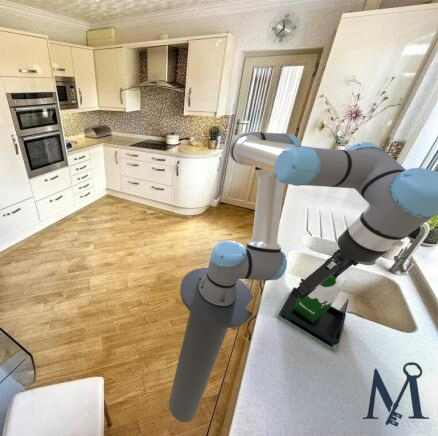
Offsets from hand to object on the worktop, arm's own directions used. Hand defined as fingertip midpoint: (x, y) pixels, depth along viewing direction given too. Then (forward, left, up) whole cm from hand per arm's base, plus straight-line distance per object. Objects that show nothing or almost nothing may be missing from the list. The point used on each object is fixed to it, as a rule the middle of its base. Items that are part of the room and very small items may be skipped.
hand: (315, 284), depth 64 cm
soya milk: (+3, +17, -24) cm, 30 cm away
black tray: (+5, +18, -27) cm, 33 cm away
